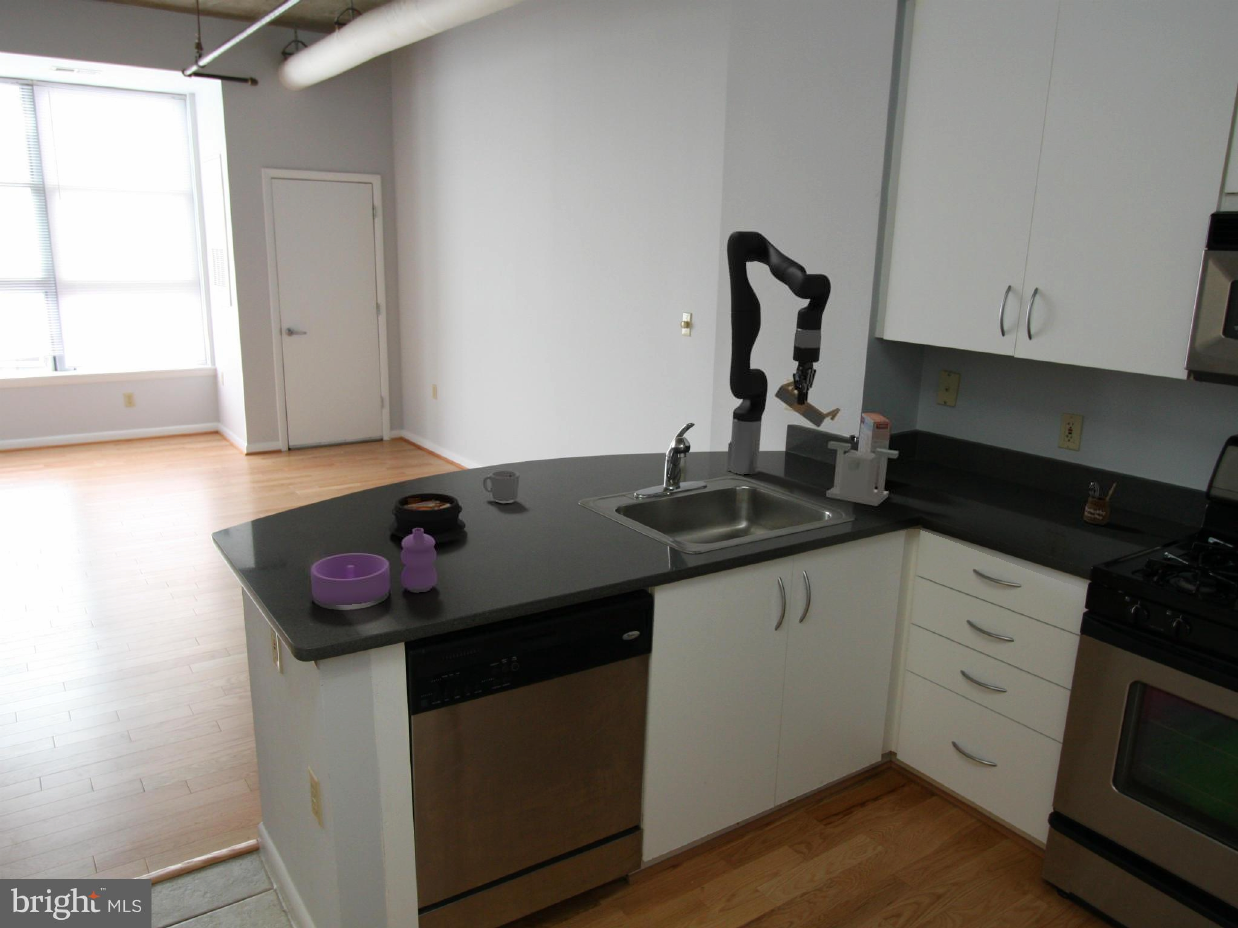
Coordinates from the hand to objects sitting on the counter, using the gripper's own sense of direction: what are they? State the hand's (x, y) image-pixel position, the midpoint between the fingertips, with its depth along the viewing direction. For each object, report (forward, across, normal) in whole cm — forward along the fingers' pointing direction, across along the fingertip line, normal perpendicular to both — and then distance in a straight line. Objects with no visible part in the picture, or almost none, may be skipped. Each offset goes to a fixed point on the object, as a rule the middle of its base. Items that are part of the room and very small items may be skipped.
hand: (801, 403), depth 260 cm
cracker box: (+27, -26, +15) cm, 40 cm away
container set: (+27, +126, -42) cm, 136 cm away
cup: (+27, +61, -63) cm, 92 cm away
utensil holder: (+27, -24, +79) cm, 87 cm away
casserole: (+27, +93, -60) cm, 114 cm away
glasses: (+2, -6, -1) cm, 6 cm away
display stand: (+27, -6, +17) cm, 32 cm away
